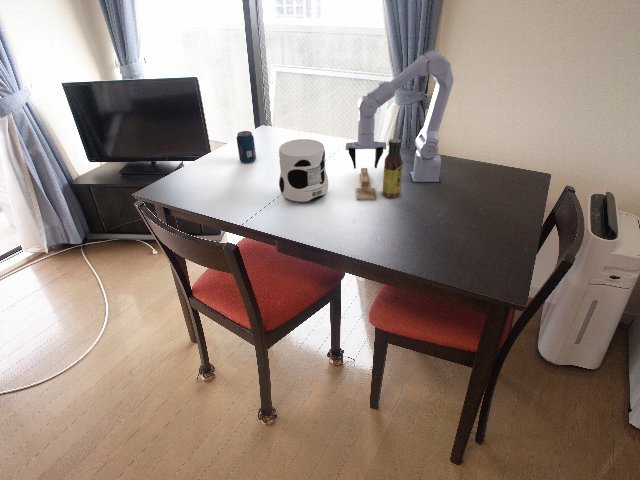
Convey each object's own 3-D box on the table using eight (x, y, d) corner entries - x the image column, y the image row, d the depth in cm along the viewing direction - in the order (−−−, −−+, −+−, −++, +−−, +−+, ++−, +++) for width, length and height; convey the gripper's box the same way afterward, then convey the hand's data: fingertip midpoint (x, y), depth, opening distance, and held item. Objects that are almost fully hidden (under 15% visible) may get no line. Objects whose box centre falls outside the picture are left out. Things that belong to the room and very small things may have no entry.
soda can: (238, 159, 178) (233, 132, 171) (253, 156, 180) (250, 129, 173) (242, 165, 173) (238, 137, 166) (258, 162, 175) (255, 134, 168)
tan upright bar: (374, 199, 146) (375, 192, 144) (357, 200, 146) (357, 192, 144) (371, 174, 162) (371, 167, 161) (356, 174, 162) (356, 168, 161)
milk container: (290, 181, 159) (287, 136, 149) (334, 186, 155) (333, 140, 145) (272, 203, 146) (267, 155, 136) (320, 209, 141) (318, 160, 131)
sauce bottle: (399, 199, 146) (404, 145, 134) (381, 198, 147) (384, 144, 135) (400, 190, 151) (405, 137, 139) (383, 189, 152) (386, 136, 141)
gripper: (385, 127, 150) (383, 162, 158) (345, 128, 151) (345, 163, 159) (387, 134, 144) (385, 170, 152) (345, 135, 145) (345, 171, 153)
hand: (365, 167), depth 155 cm, fingers open, 7 cm apart
